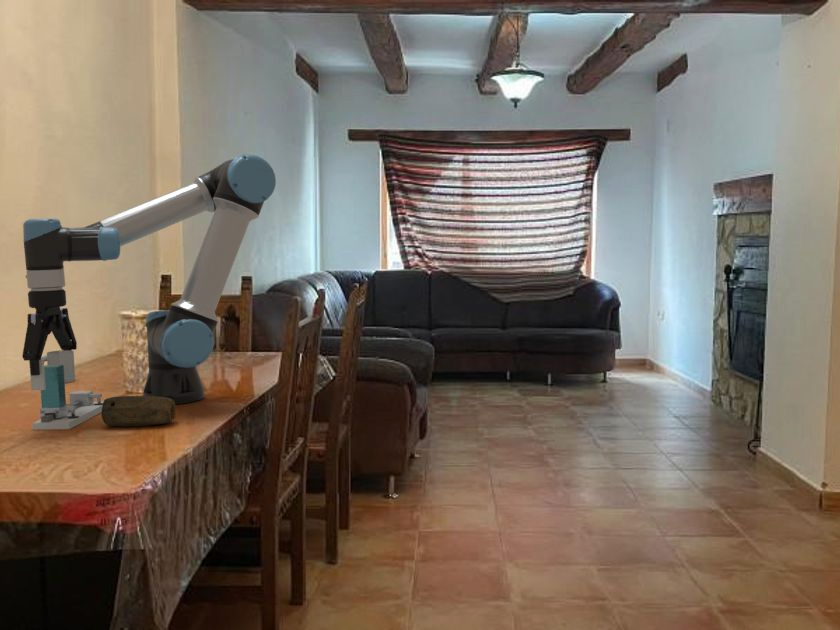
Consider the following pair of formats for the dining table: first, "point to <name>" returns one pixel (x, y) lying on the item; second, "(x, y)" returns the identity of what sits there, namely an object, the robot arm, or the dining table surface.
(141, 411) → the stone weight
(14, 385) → the dining table surface
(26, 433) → the dining table surface
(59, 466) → the dining table surface
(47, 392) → the block
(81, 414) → the gauge plate
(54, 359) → the cup
